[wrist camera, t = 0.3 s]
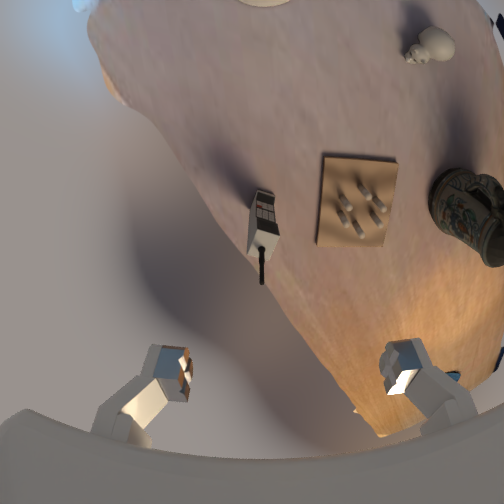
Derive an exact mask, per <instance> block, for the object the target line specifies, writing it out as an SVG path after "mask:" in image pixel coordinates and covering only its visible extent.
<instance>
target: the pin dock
mask: <svg viewBox="0 0 504 504" xmlns="http://www.w3.org/2000/svg"><path fill="white" fill-rule="evenodd" d="M398 166H399V164H398V163H397V162H390V161H381V160H370V159H359V158H345V157H328V156H324V160H323V175H322V189H321V201H320V212H319V222H318V232H317V241H316V245H317V247H383V243H384V239H385V235H386V230H387V226H388V221H389V216H390V212H391V207H392V201H393V196H394V190H395V185H396V179H397V172H398Z"/></svg>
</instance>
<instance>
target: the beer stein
mask: <svg viewBox="0 0 504 504" xmlns="http://www.w3.org/2000/svg"><path fill="white" fill-rule="evenodd" d="M428 205H429V211H430V214H431V216H432V219H433V221H434V222H435V224H436V225H437V227H438V228H439V229H440V230H441V231H442V232H444V233H445V234H448V235H452V236H454V237H456V238H458V239H459V240H461V241H462V242H464V243H465V244H467V245H468V246H470V247H471V248H472V249H474V250H475V251H476V252H478V253H479V254H480V256H481V258H482V260H483V262H484V264H485V265H487V266H488V267H492V268H494V267H500V266H503V265H504V190H503V188H502V186H501V184H500V183H499V182H498V181H497V180H496V179H495V178H494V177H492V176H490V175H487V174H480V175H477V176H476V175H475V174H474V173H472V172H471V171H468V170H464V169H461V168H455V169H449V170H447V171H446V172H444V173H442V174H441V175H440V176H439V178H438V179H437V180H436V181H435V182H434V184H433V187H432V189H431V192H430V194H429V202H428Z"/></svg>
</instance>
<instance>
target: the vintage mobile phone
mask: <svg viewBox="0 0 504 504" xmlns="http://www.w3.org/2000/svg"><path fill="white" fill-rule="evenodd" d="M274 202H275V195H273V194H270V193H266V192H263V191H260V190H257V192H256V195H255V198H254V200H253V203H252V206H251V209H250V214H249V227H248V241H247V255H250V256H254V257H257V258H259V264H260V285H264V262H265V260H268V261H269V259H270V257H271V255H272V253H273V250H274V248H275V246H276V244H277V241H278V239H279V237H280V234H279V229H278V224H277V223H276V219H275V210H274Z"/></svg>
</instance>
